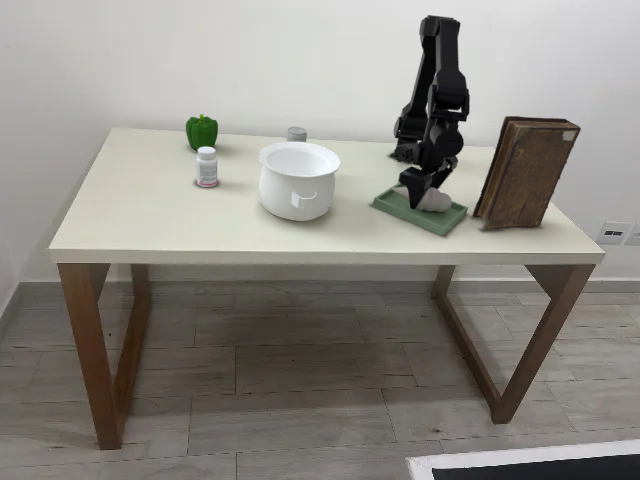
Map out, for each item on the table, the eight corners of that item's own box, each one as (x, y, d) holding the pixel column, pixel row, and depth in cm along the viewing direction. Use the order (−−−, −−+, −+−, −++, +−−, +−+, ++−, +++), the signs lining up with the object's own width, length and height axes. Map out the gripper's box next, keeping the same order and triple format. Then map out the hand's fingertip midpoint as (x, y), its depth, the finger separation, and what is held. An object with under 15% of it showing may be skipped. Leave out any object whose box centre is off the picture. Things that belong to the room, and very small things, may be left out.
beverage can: (305, 173, 128) (310, 129, 121) (298, 181, 124) (303, 135, 117) (288, 169, 129) (291, 125, 122) (281, 176, 125) (284, 131, 118)
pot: (254, 184, 120) (256, 136, 113) (324, 186, 123) (330, 139, 116) (260, 233, 101) (262, 179, 95) (342, 233, 105) (350, 181, 98)
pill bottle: (221, 184, 118) (221, 151, 113) (204, 189, 115) (204, 155, 110) (209, 176, 120) (208, 144, 116) (192, 181, 117) (191, 148, 113)
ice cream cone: (383, 202, 117) (443, 219, 118) (390, 198, 111) (453, 215, 112) (389, 178, 118) (448, 195, 119) (396, 172, 112) (458, 190, 113)
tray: (399, 188, 126) (400, 181, 125) (466, 215, 118) (468, 207, 117) (372, 205, 117) (374, 198, 116) (443, 235, 109) (445, 227, 107)
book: (533, 216, 121) (572, 117, 107) (548, 232, 115) (591, 129, 102) (469, 215, 118) (501, 113, 104) (482, 231, 112) (517, 125, 98)
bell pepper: (192, 140, 138) (191, 105, 132) (221, 145, 137) (221, 109, 132) (181, 151, 131) (179, 115, 125) (211, 156, 130) (211, 119, 125)
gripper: (422, 119, 118) (409, 179, 126) (383, 138, 105) (371, 203, 113) (466, 133, 113) (449, 194, 121) (431, 155, 100) (415, 221, 108)
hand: (421, 202), depth 116 cm, fingers open, 9 cm apart
